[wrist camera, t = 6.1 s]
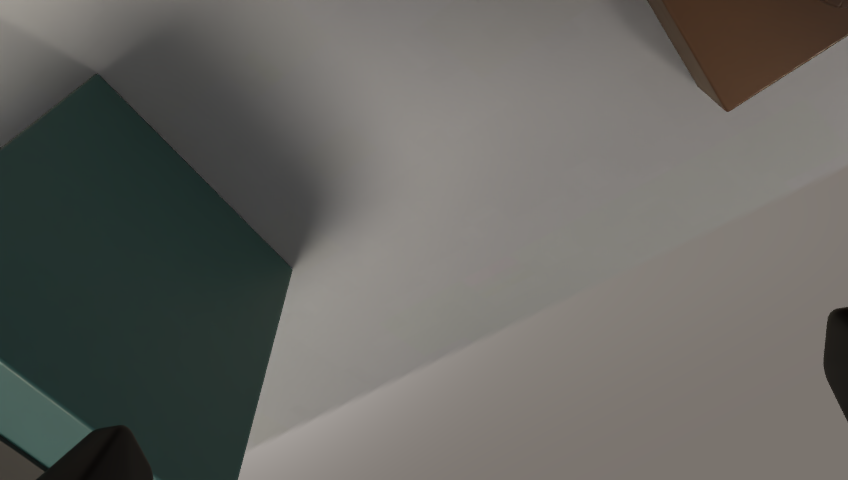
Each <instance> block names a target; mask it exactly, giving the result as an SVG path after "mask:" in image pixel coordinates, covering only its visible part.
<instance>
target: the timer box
mask: <svg viewBox="0 0 848 480" xmlns="http://www.w3.org/2000/svg"><path fill="white" fill-rule="evenodd" d="M647 1H648V3H649V4H650V6H651V8H652V10H653V11H654V13H655V15H656V16H657V18H658V20H659V22H660V23H661V25H662V27H663V28H664V30H665V32H666V33H667V35H668V37H669V39H670V40H671V42H672V44H673V45H674V47H675V49H676V50H677V52H678V54H679V56H680V57H681V59H682V61H683V62H684V64H685V66H686V67H687V69H688V71H689V73H690V74H691V76H692V78H693V79H694V81H695V83H696V85H697V86H698V87H699V88H700V89H701V90H702V91H703V92H704V93H706V94H707V95H708V96H709V97H710V98H711V99H712V100H714V101H715V102H716V103H717V104H718V105H719V106H720V107H721V108H723V109H724V110H725V111H726V112H729V111H731V110H732V109H734V108H735V107H737V106H739V105H740V104H742V103H743V102H745V101H746V100H748V99H750V98H751V97H753V96H754V95H756V94H757V93H759V92H760V91H762V90H764V89H765V88H767V87H768V86H770V85H771V84H773V83H775V82H776V81H778V80H779V79H781V78H782V77H784V76H786V75H787V74H789V73H790V72H792V71H793V70H795V69H796V68H798V67H800V66H801V65H803V64H804V63H806V62H807V61H809V60H811V59H812V58H814V57H815V56H817V55H818V54H820V53H822V52H823V51H825V50H826V49H828V48H829V47H831V46H833V45H834V44H836V43H837V42H839V41H840V40H842V39H843V38H845V37H847V36H848V0H647Z"/></svg>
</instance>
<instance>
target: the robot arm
mask: <svg viewBox="0 0 848 480" xmlns="http://www.w3.org/2000/svg"><path fill="white" fill-rule="evenodd" d="M824 370H825V375H826V378H827V380H828V382H829V385H830V387H831V389H832V391H833V393H834V395H835V397H836V399H837V401H838V403H839V405H840V407H841V409H842V411H843V413H844V415H845V417H846V419H847V421H848V307H845V308H839V309H835V310H833V311H832V312H831V313H830V315H829V316H828V321H827V329H826V340H825V351H824ZM36 480H153V473H152V469H151V466H150V464H149V462H148V460H147V458H146V457H145V455H144V453H143V451H142V449H141V447H140V445H139V444H138V442H137V440H136V438H135V436H134V434H133V433H132V431H131V430H130V429H129V428H128V427H127V426H124V425H116V426H110V427H104V428H99V429H95V430H93V431H92V432H90V433H89V434H88V435H87V436H86V437H85V438H83V439H82V440H81V441H80V442H79V443H78V444H76V445H75V446H74V447H73V448H72V449H71V450H70V451H68V452H67V453H66V454H65V455H64V456H63V457H62V458H60V459H59V460H58V461H57V462H56V463H55V464H53V465H52V466H51V467H50V468H49V469H48V470H47V471H45V472H44V473H43V474H42V475H41V476H40V477H39V478H37V479H36Z"/></svg>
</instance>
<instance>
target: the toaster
mask: <svg viewBox="0 0 848 480" xmlns="http://www.w3.org/2000/svg"><path fill="white" fill-rule="evenodd" d="M291 274H292V268H291V267H290V266H289V265H288V264H287V263H286V262H285V261H284V260H283V259H282V258H281V257H280V256H279V255H278V254H277V253H276V252H275V251H274V250H273V249H272V248H271V247H270V246H269V245H268V244H267V243H266V242H265V241H264V240H263V239H262V238H261V237H260V236H259V235H258V234H257V233H256V232H255V231H254V230H253V229H252V228H251V227H250V226H249V225H248V224H247V223H246V222H245V221H244V220H243V219H242V218H241V217H240V216H239V215H238V214H237V213H236V212H235V211H234V210H233V209H232V208H231V207H230V206H229V205H228V204H227V203H226V202H225V201H224V200H223V199H222V198H221V197H220V196H219V195H218V194H217V193H216V192H215V191H214V190H213V189H212V188H211V187H210V186H209V185H208V184H207V183H206V182H205V181H204V180H203V179H202V178H201V177H200V176H199V175H198V174H197V173H196V172H195V171H194V170H193V169H192V168H191V167H190V166H189V165H188V164H187V163H186V162H185V161H184V160H183V159H182V158H181V157H180V156H179V155H178V154H177V153H176V152H175V151H174V150H173V149H172V148H171V147H170V146H169V145H168V144H167V143H166V142H165V141H164V140H163V139H162V138H161V137H160V136H159V135H158V134H157V133H156V132H155V131H154V130H153V129H152V128H151V127H150V126H149V125H148V124H147V123H146V122H145V121H144V120H143V119H142V118H141V117H140V116H139V115H138V114H137V113H136V112H135V111H134V110H133V109H132V108H131V107H130V106H129V105H128V104H127V103H126V102H125V101H124V100H123V99H122V98H121V97H120V96H119V95H118V94H117V93H116V92H115V91H114V90H113V89H112V88H111V87H110V86H109V85H108V84H107V83H106V82H105V81H104V80H103V79H102V78H101V77H100V76H99V75H98V74H95V75H94V76H92V77H91V78H90V79H89V80H87V81H86V82H85V83H83V84H82V85H81V86H80V87H78V88H77V89H76V90H75V91H73V92H72V93H71V94H69V95H68V96H67V97H66V98H64V99H63V100H62V101H60V102H59V103H58V104H57V105H55V106H54V107H53V108H51V109H50V110H49V111H48V112H46V113H45V114H44V115H43V116H41V117H40V118H39V119H37V120H36V121H35V122H34V123H32V124H31V125H30V126H28V127H27V128H26V129H25V130H23V131H22V132H21V133H20V134H18V135H17V136H16V137H14V138H13V139H12V140H11V141H9V142H8V143H7V144H5V145H4V146H3V147H2V148H0V480H36V479H37V478H39V477H40V476H41V475H42V474H43V473H44V472H45V471H47V470H48V469H49V468H50V467H51V466H52V465H53V464H55V463H56V462H57V461H58V460H59V459H60V458H62V457H63V456H64V455H65V454H66V453H67V452H68V451H70V450H71V449H72V448H73V447H74V446H75V445H76V444H78V443H79V442H80V441H81V440H82V439H83V438H85V437H86V436H87V435H88V434H89V433H90V432H92V431H93V430H95V429H99V428H104V427H110V426H116V425H124V426H127V427H128V428H129V429H130V430H131V431H132V433H133V434H134V436H135V438H136V440H137V442H138V444H139V445H140V447H141V449H142V451H143V453H144V455H145V457H146V458H147V460H148V462H149V464H150V466H151V469H152V473H153V480H238V477H239V472H240V469H241V465H242V461H243V457H244V454H245V450H246V446H247V442H248V438H249V434H250V431H251V427H252V423H253V419H254V415H255V411H256V408H257V404H258V400H259V396H260V392H261V388H262V385H263V381H264V377H265V373H266V369H267V365H268V362H269V358H270V354H271V350H272V346H273V342H274V339H275V335H276V331H277V327H278V323H279V320H280V316H281V312H282V308H283V304H284V300H285V297H286V293H287V289H288V285H289V281H290V277H291Z"/></svg>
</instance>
